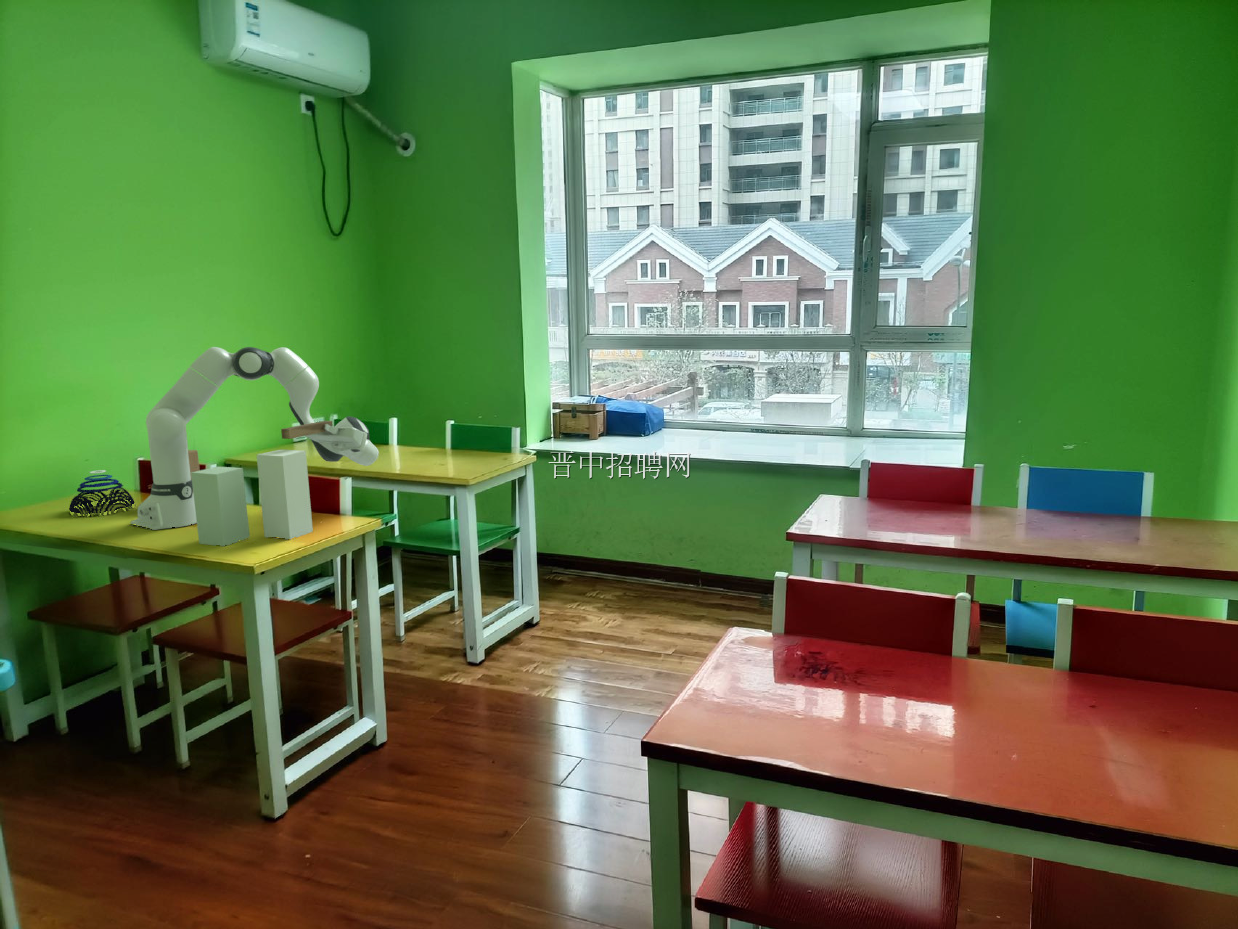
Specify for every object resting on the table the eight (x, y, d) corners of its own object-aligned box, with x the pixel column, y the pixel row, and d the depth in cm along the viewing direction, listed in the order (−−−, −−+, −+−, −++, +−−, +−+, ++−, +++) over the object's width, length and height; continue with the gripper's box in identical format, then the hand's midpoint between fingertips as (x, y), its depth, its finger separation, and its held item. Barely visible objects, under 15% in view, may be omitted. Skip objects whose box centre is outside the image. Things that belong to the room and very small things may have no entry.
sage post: (199, 543, 256) (191, 472, 252) (225, 535, 265) (217, 466, 261) (224, 546, 252) (216, 474, 248) (249, 537, 261) (242, 468, 257)
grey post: (264, 537, 262) (256, 454, 257) (287, 529, 271) (280, 449, 266) (290, 539, 258) (282, 456, 253) (312, 531, 267) (305, 450, 263)
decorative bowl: (57, 514, 298) (51, 474, 295) (112, 502, 316) (107, 464, 313) (92, 519, 289) (86, 478, 287) (146, 507, 307) (141, 468, 304)
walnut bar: (282, 438, 262) (281, 429, 262) (325, 429, 280) (324, 420, 280) (289, 438, 261) (288, 429, 261) (332, 429, 279) (332, 421, 279)
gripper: (322, 431, 292) (296, 416, 280) (371, 433, 285) (346, 418, 273) (317, 448, 290) (291, 433, 278) (366, 451, 283) (341, 436, 271)
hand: (318, 425), depth 275 cm, fingers closed on walnut bar, 3 cm apart
